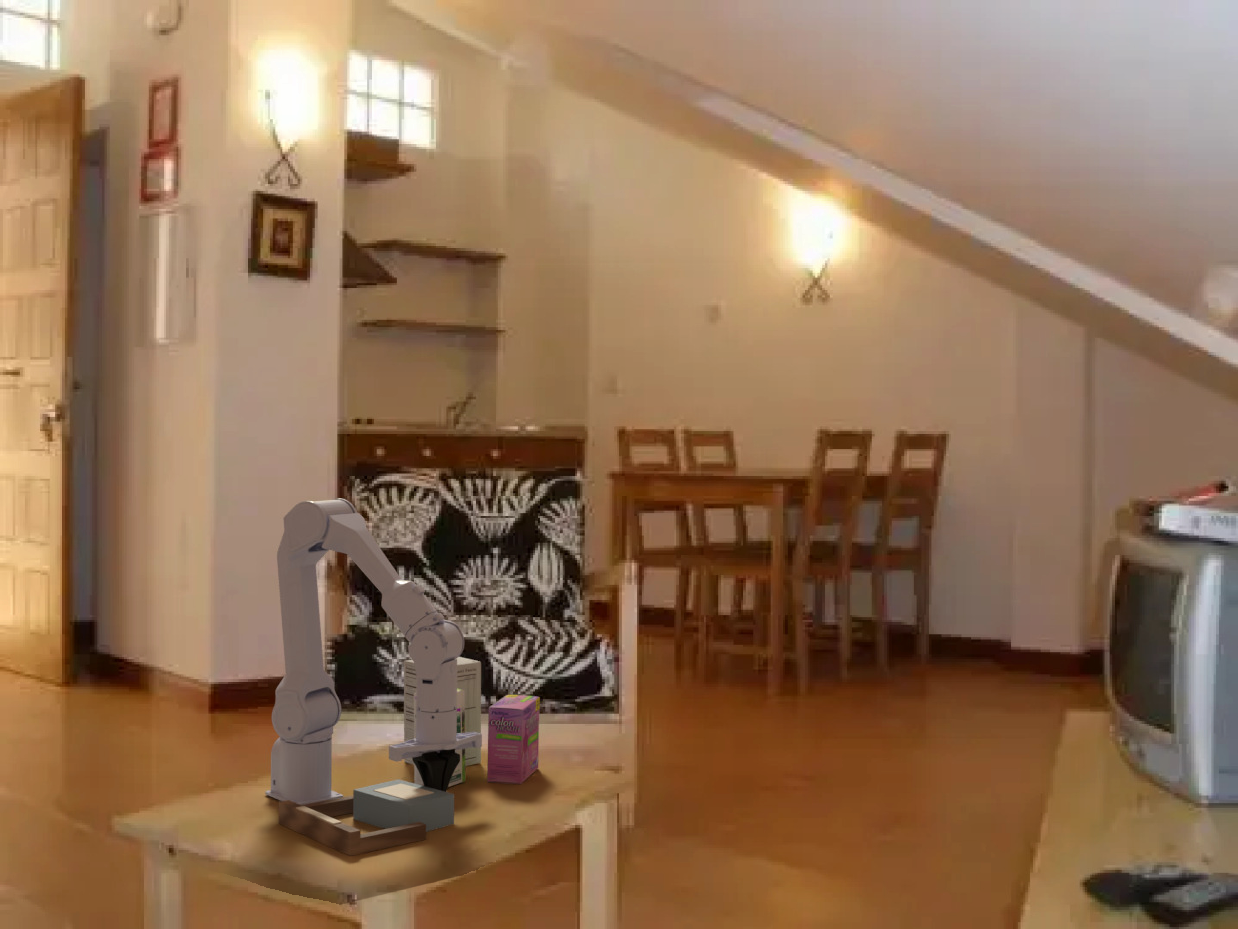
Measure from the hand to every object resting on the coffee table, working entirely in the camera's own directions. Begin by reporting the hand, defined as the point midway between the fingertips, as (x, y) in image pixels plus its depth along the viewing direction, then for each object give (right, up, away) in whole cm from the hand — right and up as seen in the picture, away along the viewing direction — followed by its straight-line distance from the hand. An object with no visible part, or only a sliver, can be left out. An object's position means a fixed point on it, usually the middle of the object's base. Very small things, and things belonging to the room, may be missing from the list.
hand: (435, 804), depth 202 cm
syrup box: (-2, -1, +17) cm, 17 cm away
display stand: (-10, -2, -9) cm, 14 cm away
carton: (-4, -2, -4) cm, 6 cm away
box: (+9, -1, +23) cm, 25 cm away
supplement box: (-3, -1, +31) cm, 31 cm away
